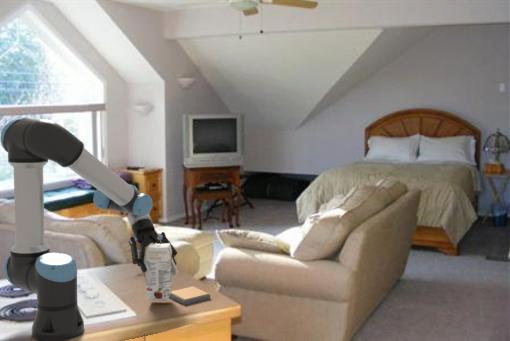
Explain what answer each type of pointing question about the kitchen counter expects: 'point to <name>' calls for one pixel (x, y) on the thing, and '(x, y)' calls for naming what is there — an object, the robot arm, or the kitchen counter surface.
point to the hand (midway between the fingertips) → (163, 276)
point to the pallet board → (189, 295)
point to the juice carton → (159, 271)
